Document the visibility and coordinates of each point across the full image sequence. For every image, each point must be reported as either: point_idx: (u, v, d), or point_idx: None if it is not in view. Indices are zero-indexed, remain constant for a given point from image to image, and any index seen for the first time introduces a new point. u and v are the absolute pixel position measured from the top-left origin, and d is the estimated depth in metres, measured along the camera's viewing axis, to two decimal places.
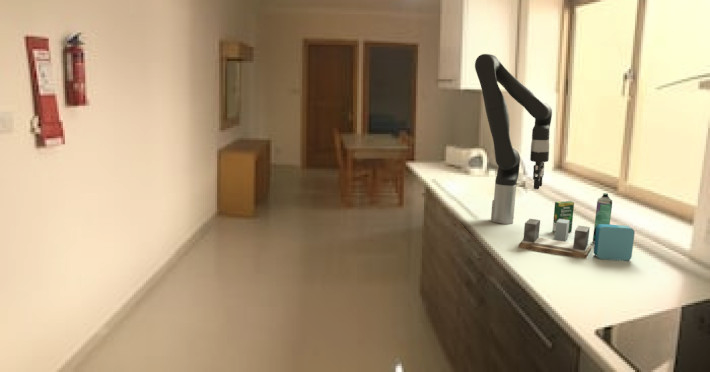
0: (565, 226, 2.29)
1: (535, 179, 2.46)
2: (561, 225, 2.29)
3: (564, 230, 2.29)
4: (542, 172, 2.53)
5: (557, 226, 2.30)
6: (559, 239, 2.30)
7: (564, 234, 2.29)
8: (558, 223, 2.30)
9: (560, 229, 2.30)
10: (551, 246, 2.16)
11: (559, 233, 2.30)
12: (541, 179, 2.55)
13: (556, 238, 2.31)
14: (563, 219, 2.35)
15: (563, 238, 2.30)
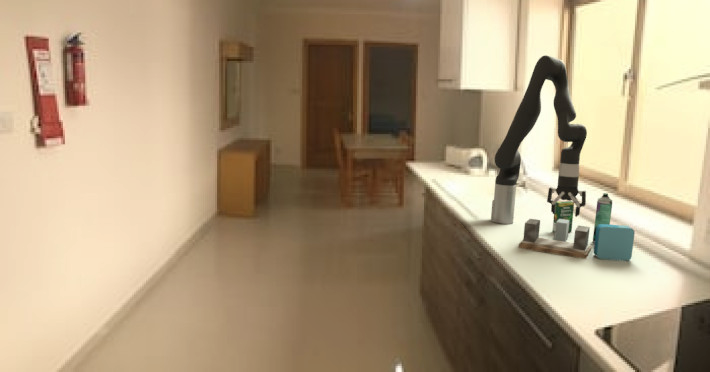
0: (565, 226, 2.29)
1: None
2: (561, 225, 2.29)
3: (564, 230, 2.29)
4: None
5: (557, 226, 2.30)
6: (559, 239, 2.30)
7: (564, 234, 2.29)
8: (558, 223, 2.30)
9: (560, 229, 2.30)
10: (551, 246, 2.16)
11: (559, 233, 2.30)
12: (555, 205, 2.34)
13: (556, 238, 2.31)
14: (563, 219, 2.35)
15: (563, 238, 2.30)
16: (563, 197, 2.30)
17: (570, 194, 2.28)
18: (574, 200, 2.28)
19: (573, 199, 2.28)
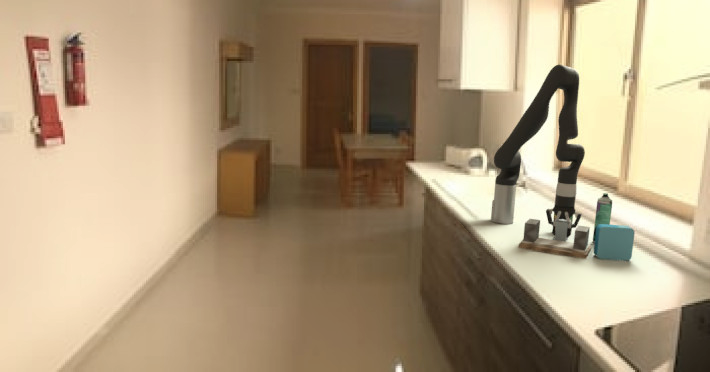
0: (565, 226, 2.29)
1: None
2: (561, 225, 2.29)
3: (564, 230, 2.29)
4: None
5: (557, 226, 2.30)
6: (559, 239, 2.30)
7: (564, 234, 2.29)
8: (558, 223, 2.30)
9: (560, 229, 2.30)
10: (551, 246, 2.16)
11: (559, 233, 2.30)
12: None
13: (556, 238, 2.31)
14: (563, 219, 2.35)
15: (563, 238, 2.30)
16: (561, 216, 2.31)
17: (566, 214, 2.29)
18: (567, 221, 2.30)
19: (567, 219, 2.30)
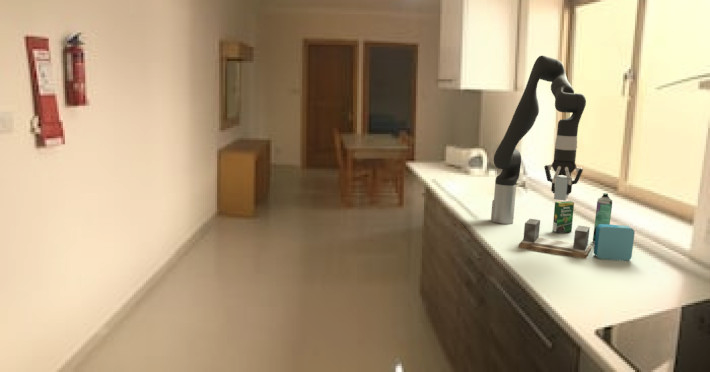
0: (565, 182, 2.12)
1: (575, 183, 2.14)
2: (561, 181, 2.13)
3: (564, 186, 2.12)
4: None
5: (557, 182, 2.14)
6: (559, 196, 2.14)
7: (564, 191, 2.13)
8: (558, 179, 2.13)
9: (560, 185, 2.13)
10: (551, 246, 2.16)
11: (559, 190, 2.13)
12: None
13: (556, 195, 2.14)
14: (563, 176, 2.19)
15: (563, 195, 2.13)
16: (561, 172, 2.15)
17: (567, 169, 2.13)
18: (568, 177, 2.13)
19: (567, 175, 2.13)
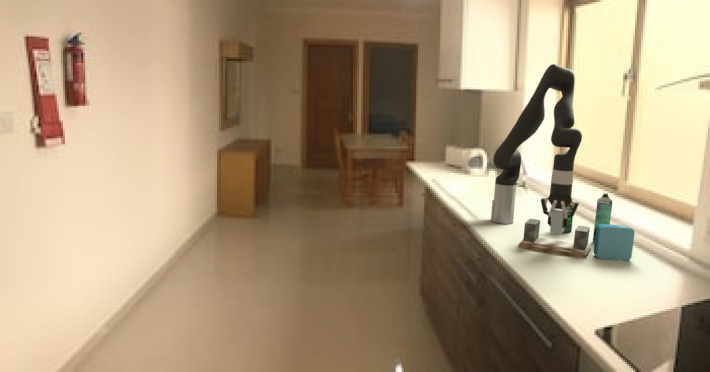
0: (561, 216, 2.14)
1: None
2: (557, 215, 2.15)
3: (560, 220, 2.15)
4: None
5: (553, 216, 2.16)
6: (555, 230, 2.16)
7: (560, 224, 2.15)
8: (554, 213, 2.15)
9: (556, 219, 2.15)
10: (551, 246, 2.16)
11: (555, 223, 2.16)
12: None
13: (552, 229, 2.16)
14: (559, 209, 2.21)
15: (559, 229, 2.15)
16: (557, 205, 2.17)
17: (563, 203, 2.15)
18: (564, 210, 2.15)
19: (563, 209, 2.15)
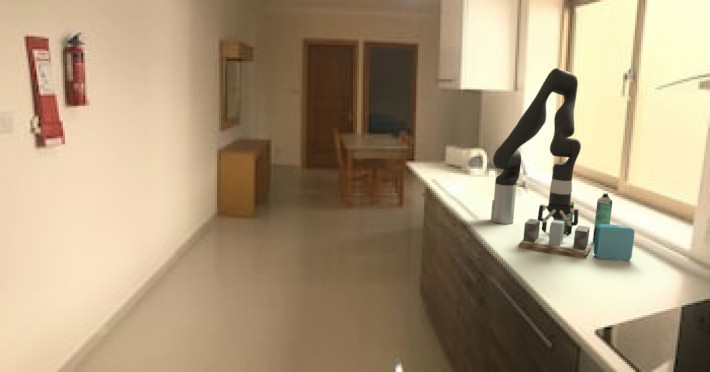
0: (560, 228, 2.15)
1: None
2: (556, 227, 2.16)
3: (559, 232, 2.15)
4: None
5: (551, 228, 2.16)
6: (554, 242, 2.17)
7: (559, 236, 2.16)
8: (552, 225, 2.16)
9: (555, 231, 2.16)
10: (551, 246, 2.16)
11: (553, 235, 2.16)
12: (546, 223, 2.21)
13: (550, 240, 2.17)
14: None
15: (558, 240, 2.16)
16: (554, 215, 2.18)
17: (562, 212, 2.15)
18: (565, 219, 2.15)
19: (565, 217, 2.15)
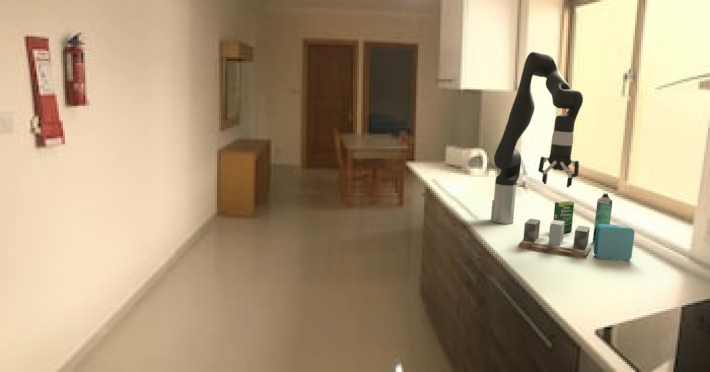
0: (560, 228, 2.15)
1: (575, 176, 2.18)
2: (556, 227, 2.16)
3: (559, 232, 2.15)
4: (552, 167, 2.23)
5: (551, 228, 2.16)
6: (554, 242, 2.17)
7: (559, 236, 2.16)
8: (552, 225, 2.16)
9: (555, 231, 2.16)
10: (551, 246, 2.16)
11: (553, 235, 2.16)
12: None
13: (550, 240, 2.17)
14: None
15: (558, 240, 2.16)
16: (555, 167, 2.20)
17: (562, 163, 2.18)
18: (566, 170, 2.18)
19: (565, 169, 2.18)
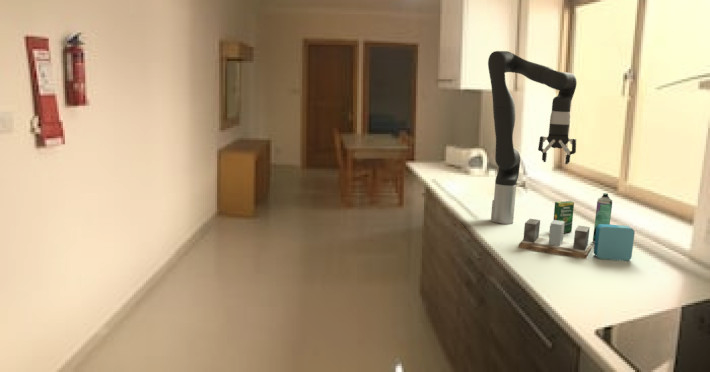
0: (560, 228, 2.15)
1: (573, 153, 2.32)
2: (556, 227, 2.16)
3: (559, 232, 2.15)
4: (551, 146, 2.37)
5: (551, 228, 2.16)
6: (554, 242, 2.17)
7: (559, 236, 2.16)
8: (552, 225, 2.16)
9: (555, 231, 2.16)
10: (551, 246, 2.16)
11: (553, 235, 2.16)
12: (546, 154, 2.38)
13: (550, 240, 2.17)
14: None
15: (558, 240, 2.16)
16: (554, 145, 2.35)
17: (561, 142, 2.32)
18: (564, 148, 2.32)
19: (563, 147, 2.32)
